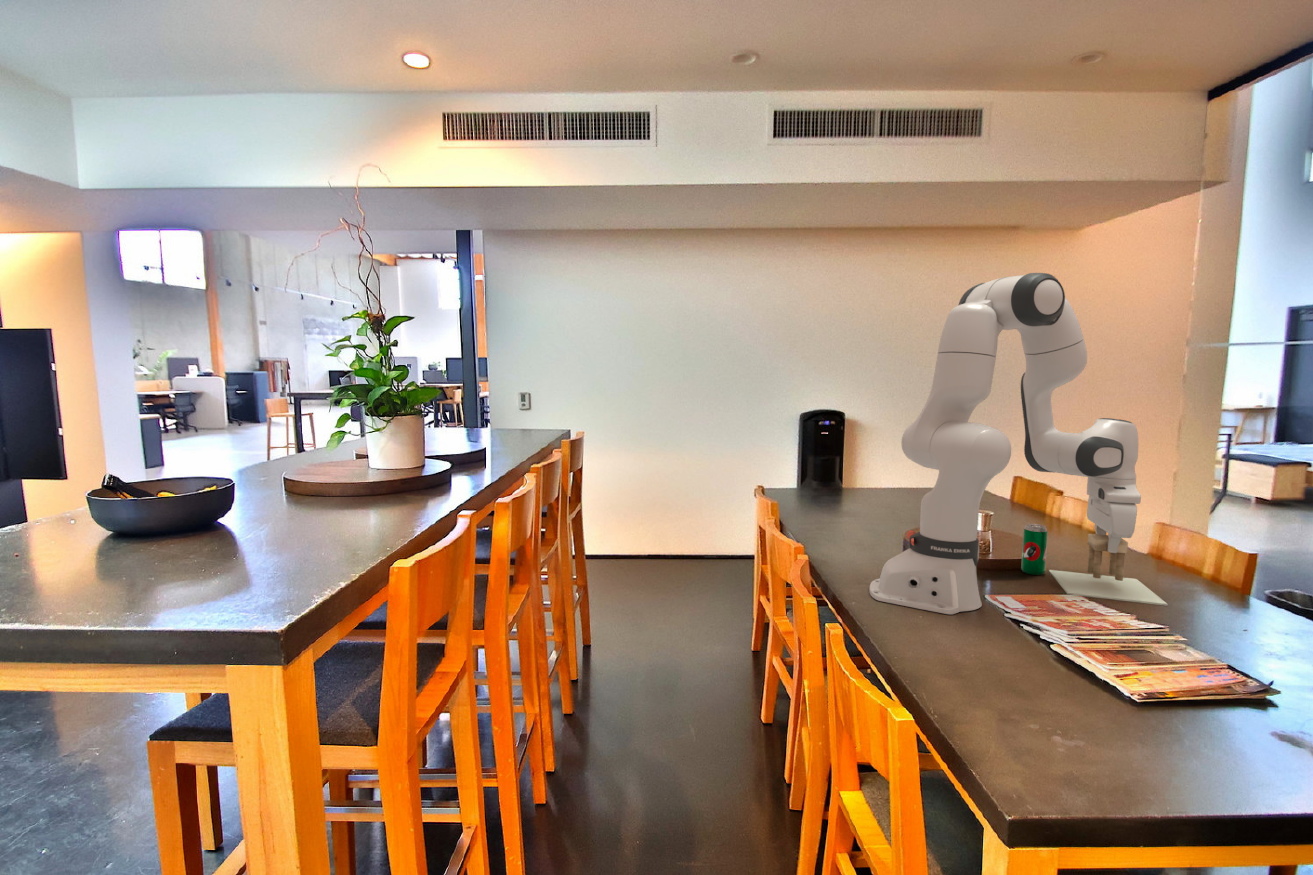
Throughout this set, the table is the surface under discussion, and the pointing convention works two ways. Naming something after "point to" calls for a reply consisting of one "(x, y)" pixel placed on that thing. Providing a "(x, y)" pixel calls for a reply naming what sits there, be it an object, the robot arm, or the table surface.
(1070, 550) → the table surface
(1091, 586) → the mat
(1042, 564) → the soda can
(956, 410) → the robot arm
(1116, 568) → the stool
